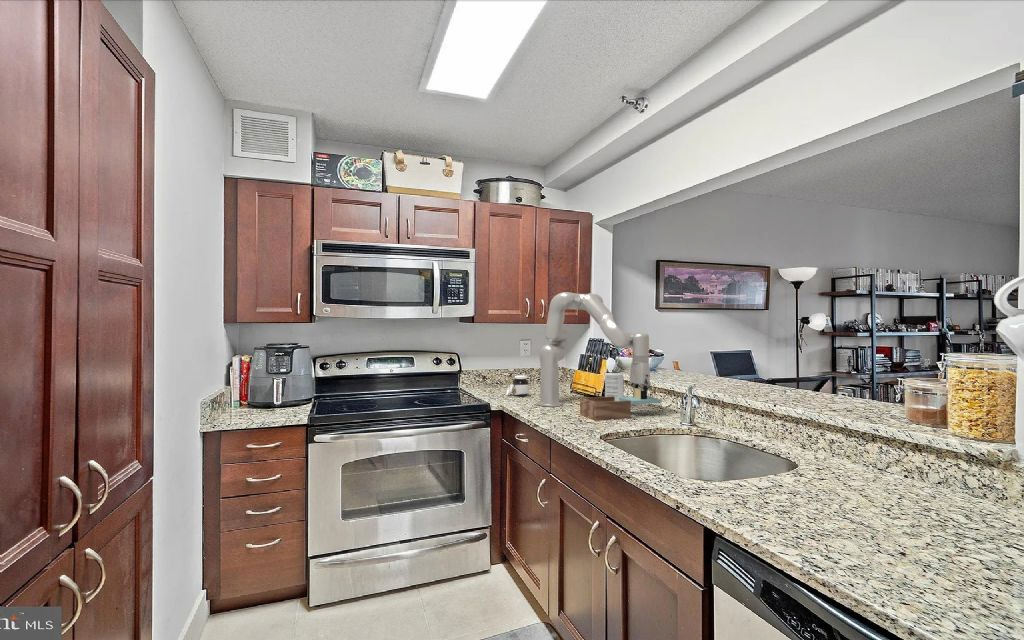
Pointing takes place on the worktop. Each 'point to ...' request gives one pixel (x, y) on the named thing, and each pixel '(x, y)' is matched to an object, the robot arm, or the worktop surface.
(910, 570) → the worktop surface
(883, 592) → the worktop surface
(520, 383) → the spread jar
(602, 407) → the slide box
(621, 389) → the supplement box
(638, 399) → the cover plate
